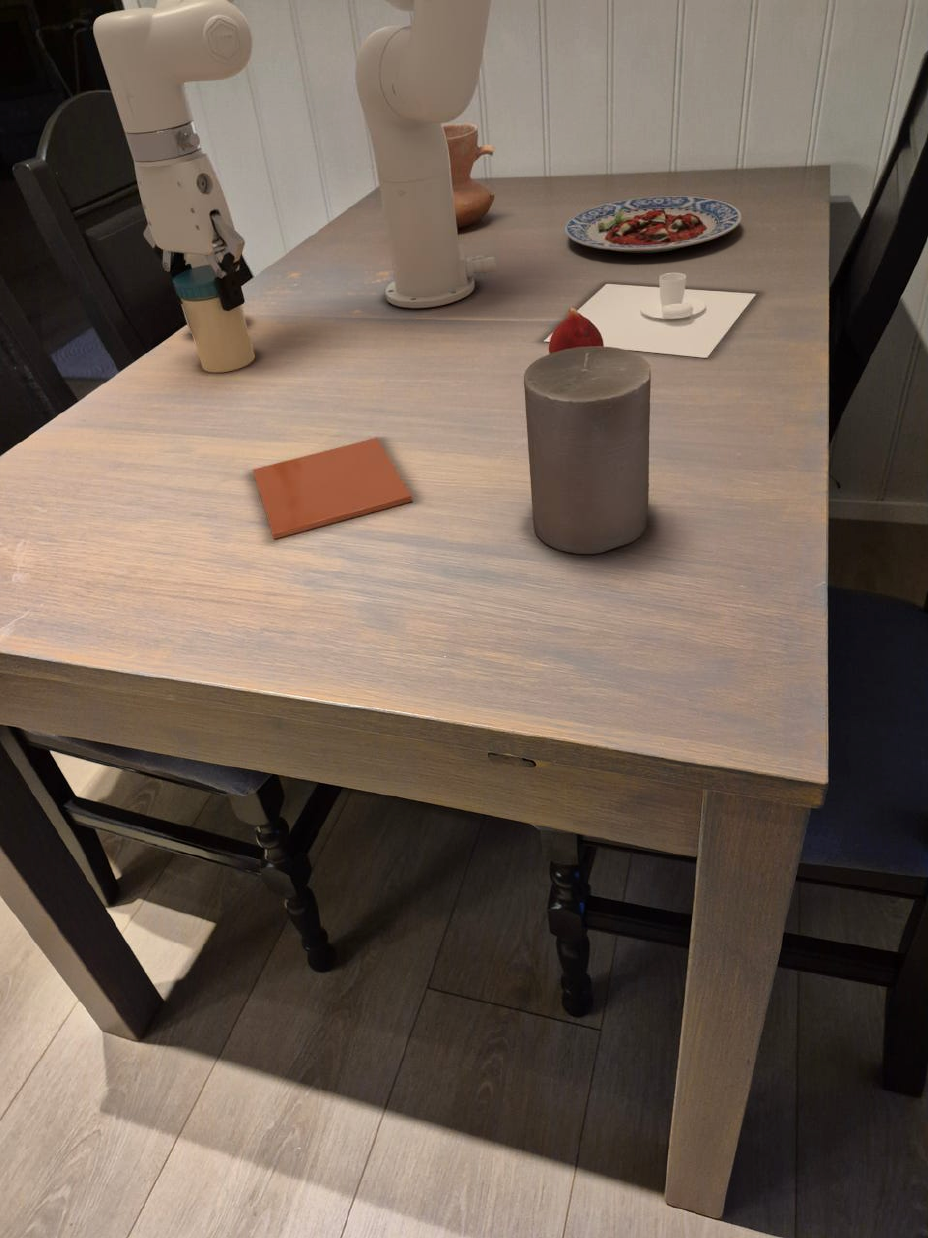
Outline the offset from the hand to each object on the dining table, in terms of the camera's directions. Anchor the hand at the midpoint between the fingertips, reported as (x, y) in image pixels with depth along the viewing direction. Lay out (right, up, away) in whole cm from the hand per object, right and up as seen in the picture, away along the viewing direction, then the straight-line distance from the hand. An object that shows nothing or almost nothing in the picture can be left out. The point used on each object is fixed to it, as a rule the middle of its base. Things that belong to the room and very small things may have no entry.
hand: (211, 302), depth 109 cm
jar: (+1, -6, +5) cm, 8 cm away
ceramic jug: (+28, +28, +42) cm, 58 cm away
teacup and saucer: (+54, -2, 0) cm, 54 cm away
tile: (+18, -26, -24) cm, 40 cm away
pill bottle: (-3, +1, +15) cm, 15 cm away
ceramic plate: (+59, +19, +25) cm, 67 cm away
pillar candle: (+42, -31, -33) cm, 62 cm away
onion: (+44, -13, -11) cm, 47 cm away
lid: (0, +2, -2) cm, 3 cm away
